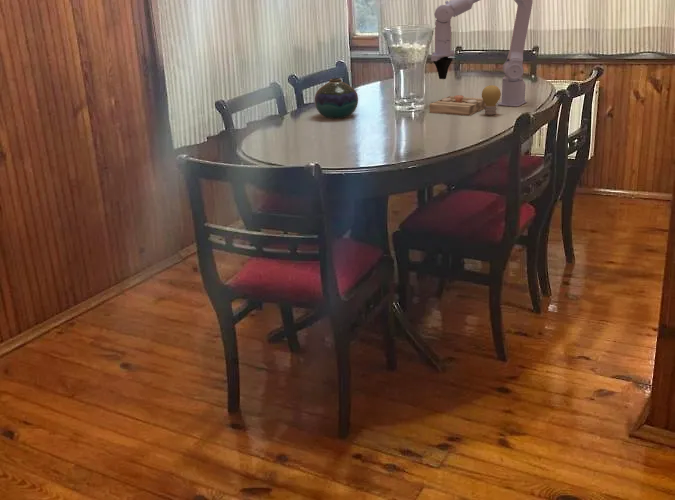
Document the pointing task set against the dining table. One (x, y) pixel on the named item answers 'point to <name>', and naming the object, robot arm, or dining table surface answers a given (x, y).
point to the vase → (336, 99)
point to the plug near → (471, 101)
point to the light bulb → (491, 98)
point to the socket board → (457, 106)
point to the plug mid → (458, 98)
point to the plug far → (446, 99)
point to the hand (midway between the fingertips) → (442, 78)
